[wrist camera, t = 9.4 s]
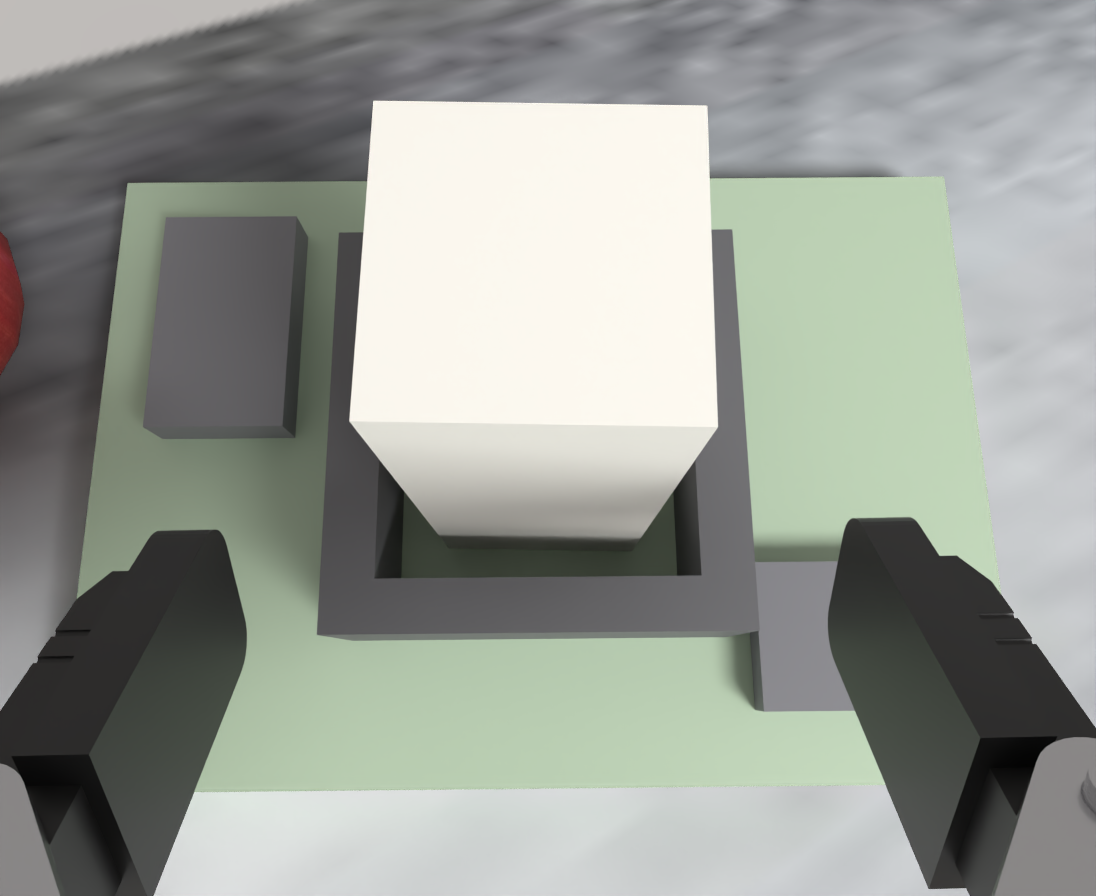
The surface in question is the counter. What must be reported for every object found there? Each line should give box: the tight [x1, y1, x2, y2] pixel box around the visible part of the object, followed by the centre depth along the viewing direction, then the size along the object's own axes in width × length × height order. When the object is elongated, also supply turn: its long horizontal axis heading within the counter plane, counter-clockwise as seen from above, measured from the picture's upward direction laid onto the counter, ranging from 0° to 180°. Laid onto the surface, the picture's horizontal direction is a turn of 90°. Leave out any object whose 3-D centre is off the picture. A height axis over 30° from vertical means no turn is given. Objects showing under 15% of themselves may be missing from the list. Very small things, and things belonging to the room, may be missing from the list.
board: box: [76, 177, 1001, 792], centre depth 19 cm, size 20×14×4 cm
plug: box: [349, 101, 718, 551], centre depth 15 cm, size 4×5×10 cm
